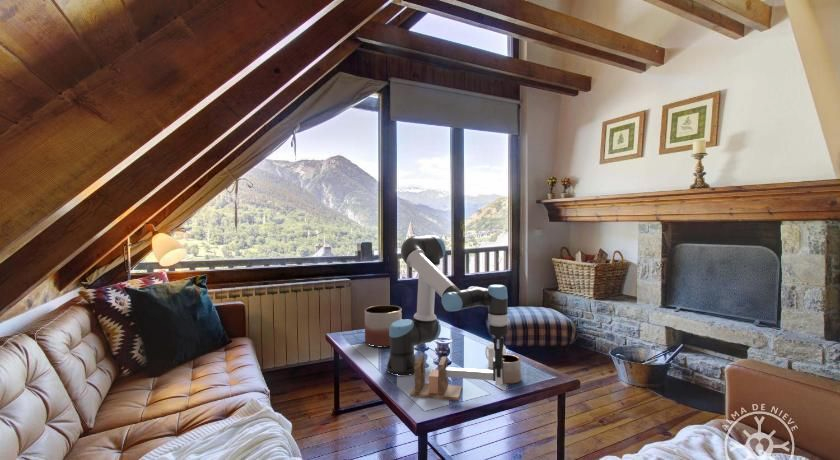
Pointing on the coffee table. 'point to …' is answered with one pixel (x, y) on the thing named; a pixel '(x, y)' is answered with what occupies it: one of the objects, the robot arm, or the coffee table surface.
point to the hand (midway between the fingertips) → (499, 380)
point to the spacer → (434, 382)
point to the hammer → (473, 373)
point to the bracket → (444, 389)
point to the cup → (492, 354)
